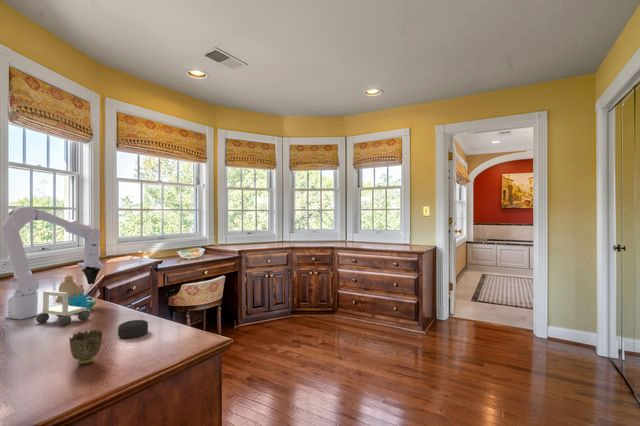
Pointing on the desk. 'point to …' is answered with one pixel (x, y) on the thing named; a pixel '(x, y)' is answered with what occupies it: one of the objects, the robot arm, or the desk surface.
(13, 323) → the desk surface
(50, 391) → the desk surface
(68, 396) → the desk surface
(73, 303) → the blue green toy
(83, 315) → the cart
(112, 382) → the desk surface
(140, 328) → the smart speaker
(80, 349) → the cup
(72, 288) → the statue
